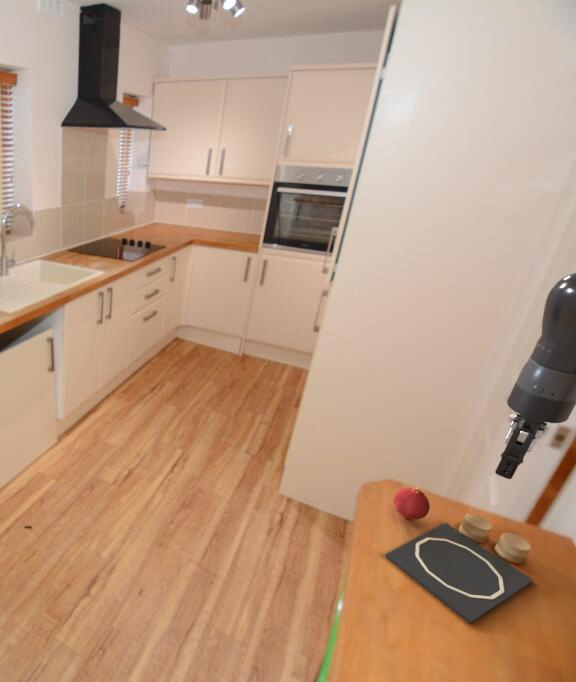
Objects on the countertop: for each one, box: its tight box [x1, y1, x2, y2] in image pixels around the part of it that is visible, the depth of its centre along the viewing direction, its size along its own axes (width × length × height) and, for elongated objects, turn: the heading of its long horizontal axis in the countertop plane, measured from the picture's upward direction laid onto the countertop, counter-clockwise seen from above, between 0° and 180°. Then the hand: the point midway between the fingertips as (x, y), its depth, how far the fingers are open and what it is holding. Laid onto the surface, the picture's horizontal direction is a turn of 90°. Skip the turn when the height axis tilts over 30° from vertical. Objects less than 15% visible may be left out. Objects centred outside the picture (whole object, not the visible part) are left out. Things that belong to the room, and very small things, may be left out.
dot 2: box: [494, 532, 532, 564], centre depth 85 cm, size 4×4×4 cm
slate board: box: [385, 522, 534, 625], centre depth 82 cm, size 14×18×1 cm
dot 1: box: [458, 513, 493, 544], centre depth 89 cm, size 4×4×4 cm
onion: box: [392, 487, 431, 521], centre depth 92 cm, size 6×6×8 cm
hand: (508, 465), depth 82 cm, fingers open, 8 cm apart
